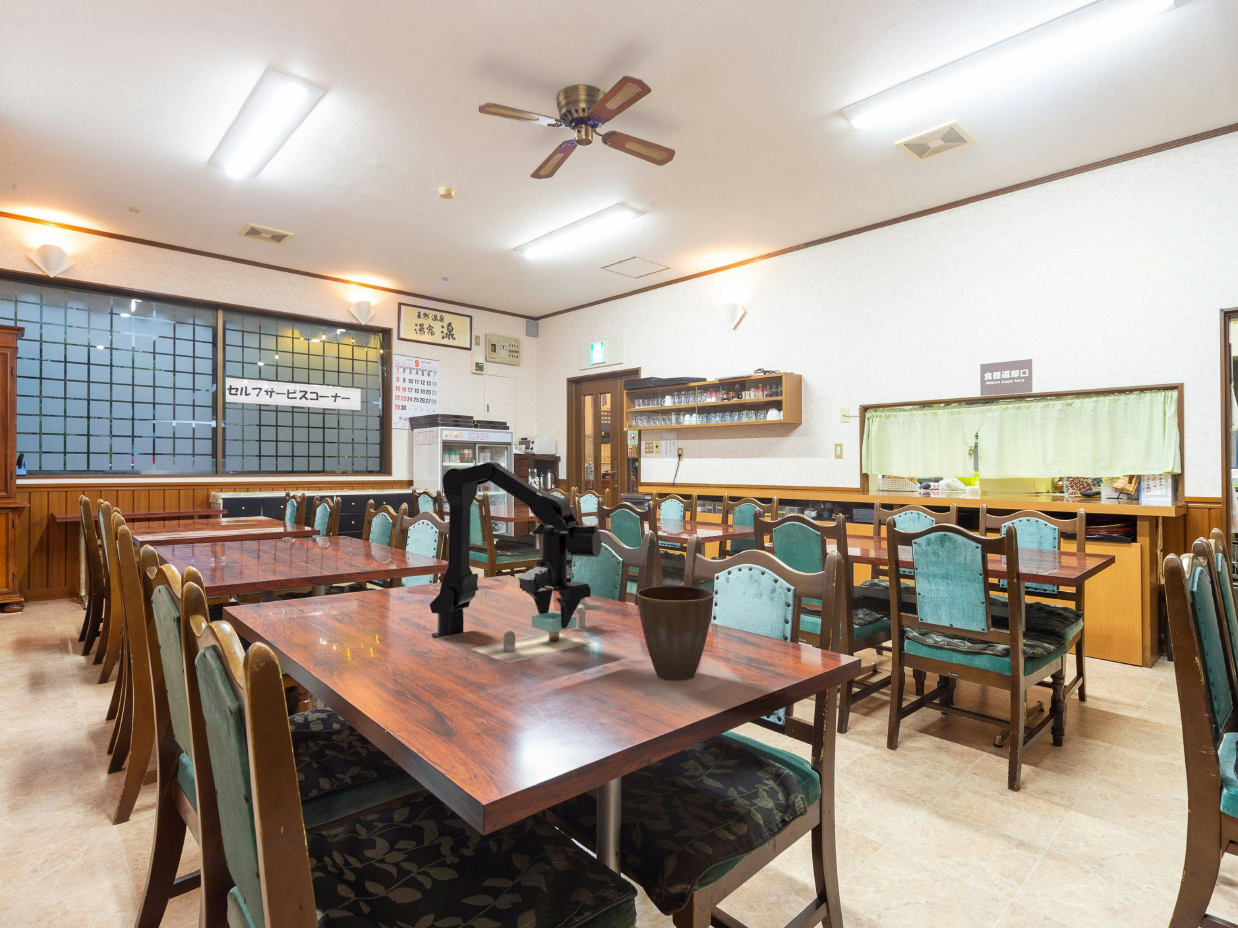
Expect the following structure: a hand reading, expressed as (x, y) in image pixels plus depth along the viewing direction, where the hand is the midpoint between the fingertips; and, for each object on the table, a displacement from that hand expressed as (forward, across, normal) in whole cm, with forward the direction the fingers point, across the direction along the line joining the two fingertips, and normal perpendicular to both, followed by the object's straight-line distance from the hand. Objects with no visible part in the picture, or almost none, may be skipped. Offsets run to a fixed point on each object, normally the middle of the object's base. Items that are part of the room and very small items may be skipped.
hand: (553, 624), depth 144 cm
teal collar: (0, 0, 0) cm, 0 cm away
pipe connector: (+5, -10, +17) cm, 20 cm away
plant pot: (+5, +31, +5) cm, 32 cm away
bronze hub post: (+4, 0, 0) cm, 4 cm away
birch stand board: (+5, 0, -6) cm, 8 cm away
